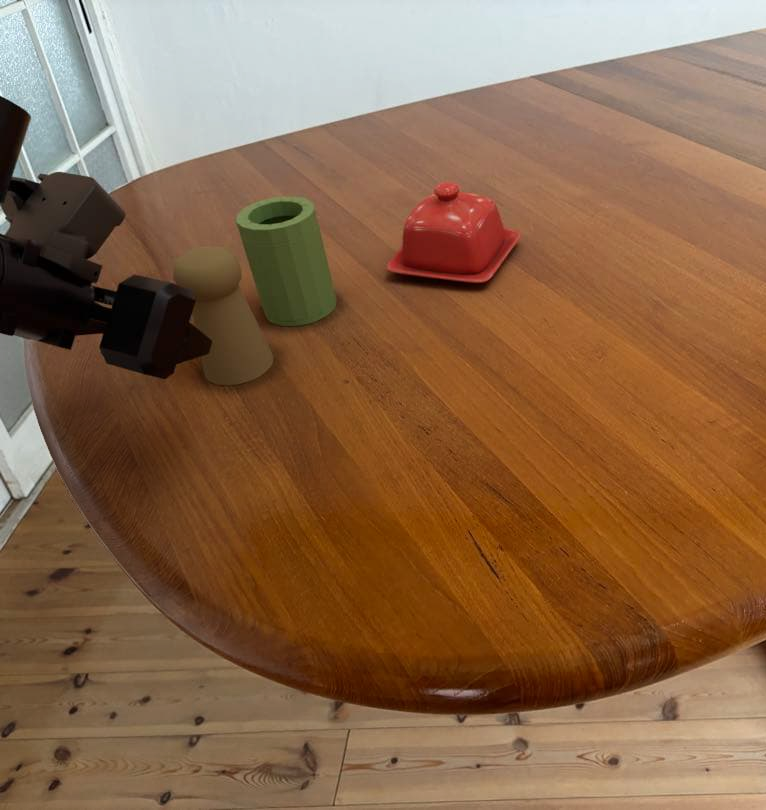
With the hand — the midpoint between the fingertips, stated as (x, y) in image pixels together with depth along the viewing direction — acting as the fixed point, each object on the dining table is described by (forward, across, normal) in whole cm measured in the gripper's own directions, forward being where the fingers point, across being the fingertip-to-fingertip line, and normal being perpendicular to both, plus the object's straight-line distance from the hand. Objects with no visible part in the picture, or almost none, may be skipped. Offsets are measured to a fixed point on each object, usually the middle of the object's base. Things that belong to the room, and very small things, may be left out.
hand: (164, 335), depth 64 cm
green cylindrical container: (+16, +1, -7) cm, 17 cm away
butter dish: (+26, -9, -16) cm, 31 cm away
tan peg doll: (+9, 0, +1) cm, 9 cm away
